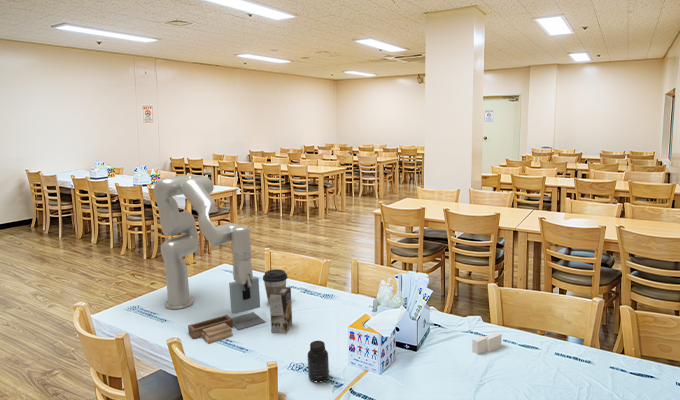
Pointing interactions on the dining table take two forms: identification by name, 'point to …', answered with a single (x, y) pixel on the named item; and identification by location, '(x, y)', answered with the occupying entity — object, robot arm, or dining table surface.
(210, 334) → the offcut stack
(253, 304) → the square sheet
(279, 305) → the coffee box
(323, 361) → the supplement bottle
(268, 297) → the coffee cup
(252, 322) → the mat
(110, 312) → the dining table surface
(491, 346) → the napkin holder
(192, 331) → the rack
